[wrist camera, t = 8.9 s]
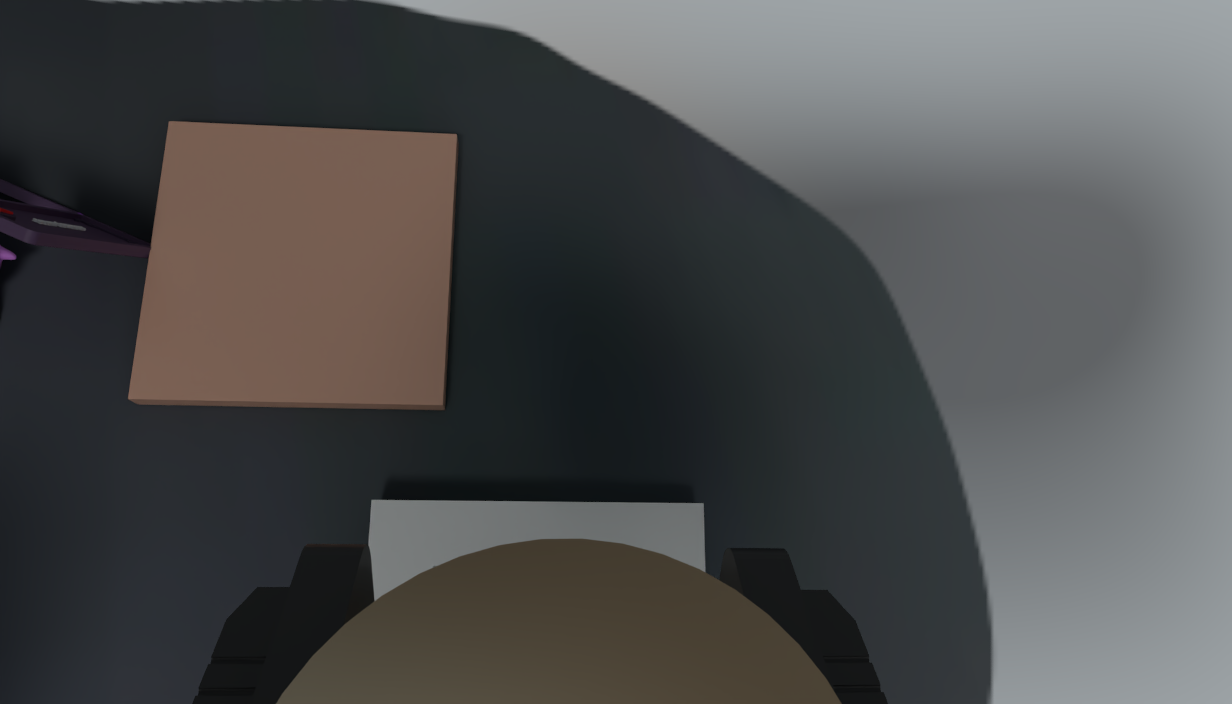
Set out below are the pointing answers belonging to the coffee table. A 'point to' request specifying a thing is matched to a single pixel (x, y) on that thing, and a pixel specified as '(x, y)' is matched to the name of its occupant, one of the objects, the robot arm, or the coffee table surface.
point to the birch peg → (561, 636)
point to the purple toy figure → (60, 227)
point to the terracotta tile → (299, 269)
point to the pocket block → (520, 530)
